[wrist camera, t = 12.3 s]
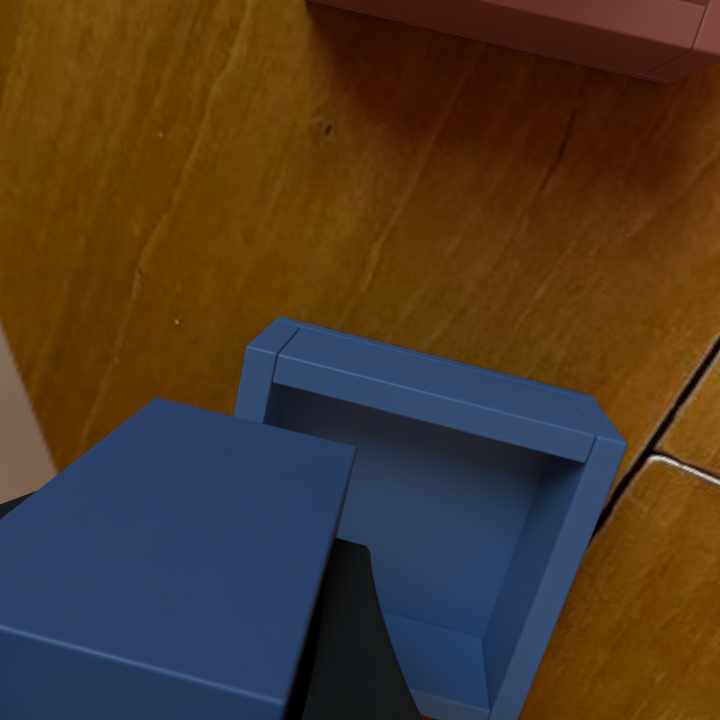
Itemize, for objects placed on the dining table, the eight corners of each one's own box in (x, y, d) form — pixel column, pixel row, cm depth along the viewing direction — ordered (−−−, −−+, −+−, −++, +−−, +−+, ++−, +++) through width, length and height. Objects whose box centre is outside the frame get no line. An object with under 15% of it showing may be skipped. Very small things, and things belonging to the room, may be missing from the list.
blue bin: (227, 577, 21) (190, 652, 18) (279, 315, 18) (246, 345, 15) (497, 651, 21) (510, 740, 18) (592, 395, 18) (629, 444, 15)
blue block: (135, 568, 13) (-101, 876, 7) (156, 395, 12) (-107, 599, 6) (317, 616, 13) (224, 971, 7) (357, 446, 12) (286, 704, 6)
